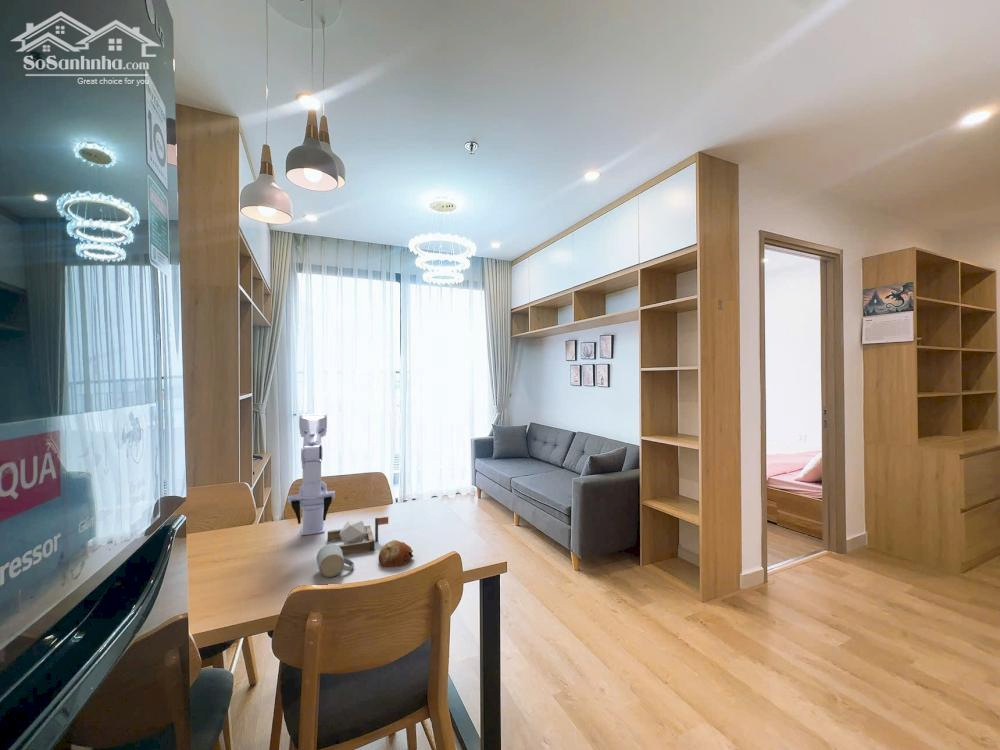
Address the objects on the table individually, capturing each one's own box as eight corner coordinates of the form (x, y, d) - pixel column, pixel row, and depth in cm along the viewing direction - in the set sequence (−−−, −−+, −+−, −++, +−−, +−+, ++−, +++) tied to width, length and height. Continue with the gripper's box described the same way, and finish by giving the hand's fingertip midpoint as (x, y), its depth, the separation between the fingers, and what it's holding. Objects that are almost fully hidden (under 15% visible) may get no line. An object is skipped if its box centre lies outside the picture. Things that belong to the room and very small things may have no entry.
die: (350, 553, 138) (368, 527, 141) (330, 539, 140) (348, 513, 143) (358, 552, 146) (375, 527, 149) (339, 538, 148) (356, 514, 150)
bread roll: (390, 564, 137) (379, 542, 137) (418, 551, 137) (408, 529, 137) (380, 579, 127) (369, 555, 127) (411, 565, 127) (400, 541, 127)
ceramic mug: (319, 581, 119) (319, 555, 119) (316, 570, 126) (316, 545, 126) (356, 573, 124) (356, 548, 124) (351, 563, 131) (351, 539, 131)
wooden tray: (327, 539, 149) (327, 517, 149) (385, 531, 156) (385, 510, 156) (327, 557, 134) (327, 532, 134) (391, 547, 142) (391, 524, 142)
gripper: (287, 486, 134) (287, 528, 134) (335, 481, 140) (335, 522, 140) (288, 481, 140) (288, 521, 141) (334, 476, 146) (334, 515, 146)
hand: (312, 521), depth 141 cm, fingers open, 7 cm apart
